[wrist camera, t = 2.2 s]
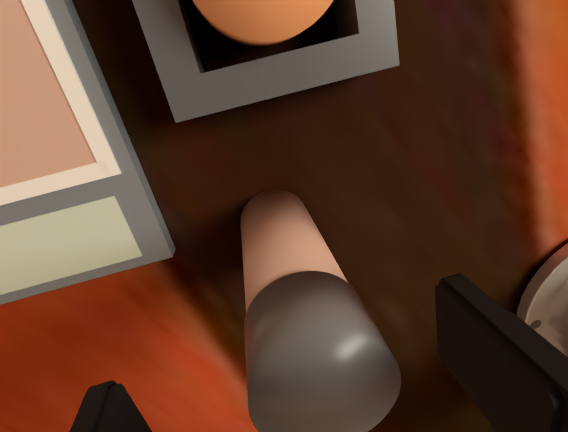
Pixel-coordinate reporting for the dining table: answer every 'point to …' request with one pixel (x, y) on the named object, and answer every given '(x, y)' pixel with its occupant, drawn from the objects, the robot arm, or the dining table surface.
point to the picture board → (65, 161)
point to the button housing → (266, 71)
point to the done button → (261, 18)
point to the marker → (307, 329)
